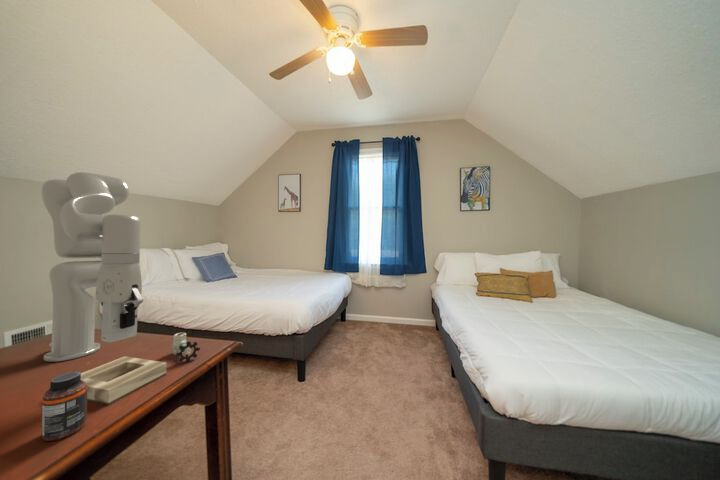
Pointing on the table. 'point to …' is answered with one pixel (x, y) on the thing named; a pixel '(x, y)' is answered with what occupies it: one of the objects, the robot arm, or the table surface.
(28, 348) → the table surface
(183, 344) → the valve
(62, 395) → the supplement bottle
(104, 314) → the skincare box
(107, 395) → the socket block
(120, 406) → the table surface
